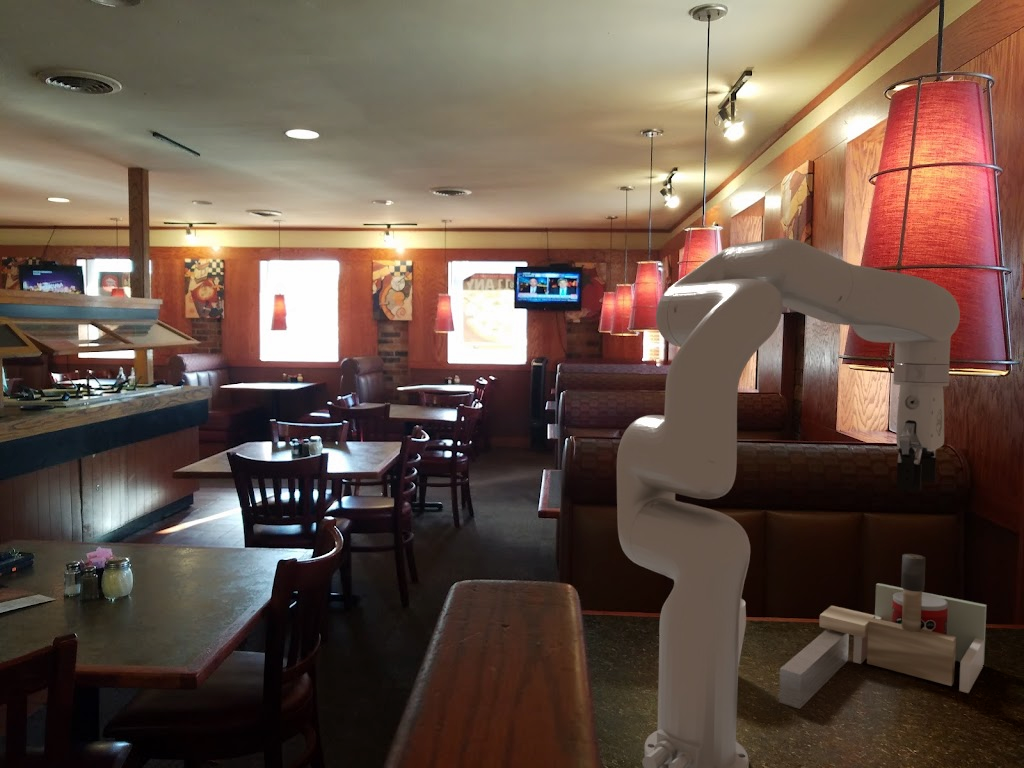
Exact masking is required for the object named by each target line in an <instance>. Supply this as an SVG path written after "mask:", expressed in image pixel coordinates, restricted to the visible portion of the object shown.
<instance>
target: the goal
mask: <svg viewBox="0 0 1024 768" xmlns="http://www.w3.org/2000/svg"><path fill="white" fill-rule="evenodd" d="M897 592H903V588H902V587H901V586H900V587H899V586H894V585H889V584H885V583H876V584H875V601H874V603H875V604H874V605H875V606H874V607H875V608H874V615H875V618H876V619H880V620H884V621H889V622H892V604H893V595H894V594H895V593H897ZM922 593H927V594H932V595H935V596H938V597H941V598H943V599H944V600H946V601H947V605H948V617H947V635H949V636H954V637H956V650H955V662H959V663H960V664H959V665H960V667H959V687H958V688H959V689H958V691H959V692H963V693H966V694H969V693H970V691H971V689H972V688H973V685H974V684H975V682H976V680H977V679H978V677H979V675H980V673H981V671H982V669H983V667H984V666H985V646H986V625H987V622H986V621H987V606H988V605H987V604H984V603H979V602H974V601H969V600H964V599H959V598H954V597H950V596H949V597H948V596H945V595H944V596H943V595H938V594H934V593H929V592H924V591H922ZM867 647H868V635H867V636H866V637H865V638H862V637H858V636H854V635H853V650H852V651H853V655H852V656H853V658H852V663H856V664H860V665H861V664H862V663H863V662H864V661H865V660H867ZM983 665H984V666H983Z"/></svg>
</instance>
